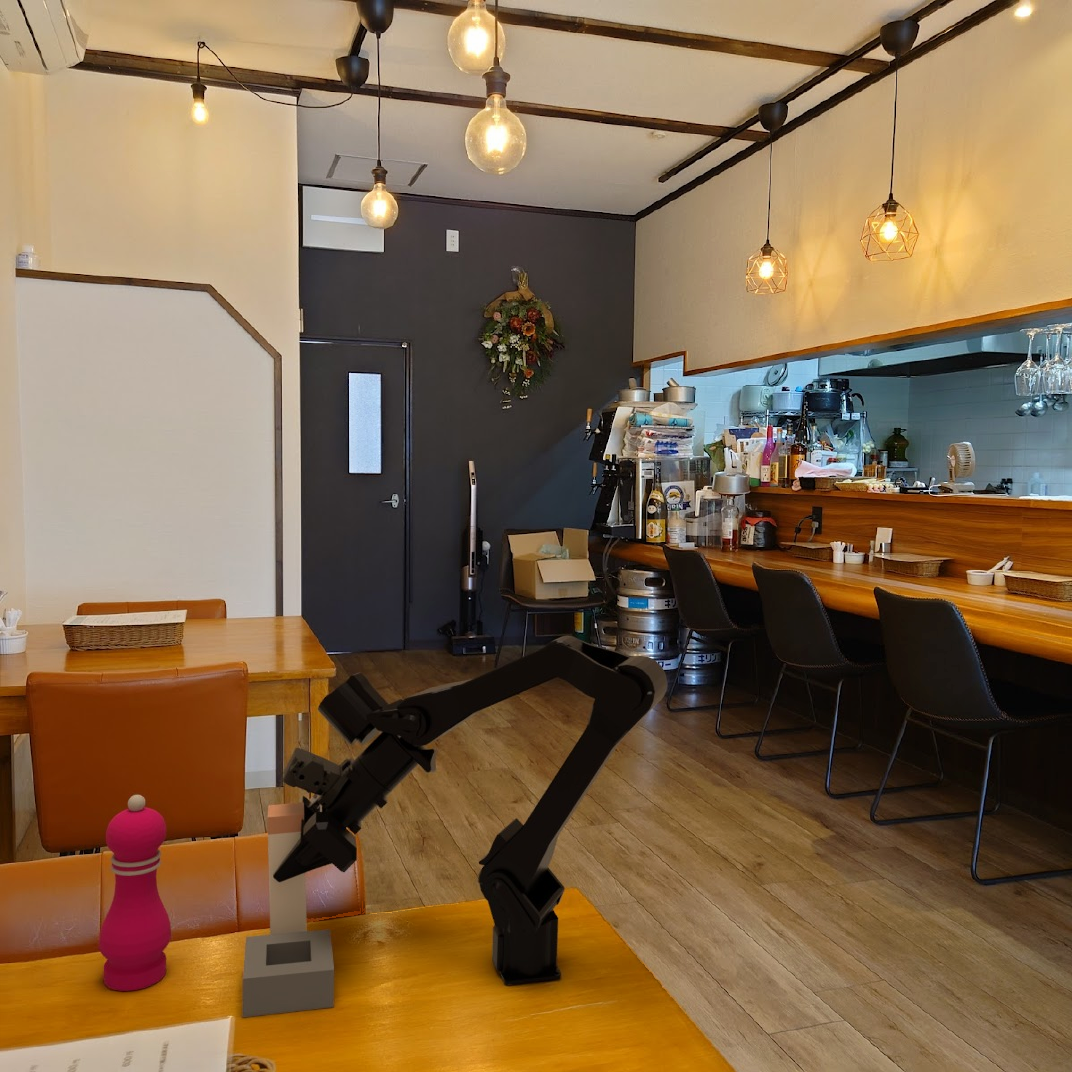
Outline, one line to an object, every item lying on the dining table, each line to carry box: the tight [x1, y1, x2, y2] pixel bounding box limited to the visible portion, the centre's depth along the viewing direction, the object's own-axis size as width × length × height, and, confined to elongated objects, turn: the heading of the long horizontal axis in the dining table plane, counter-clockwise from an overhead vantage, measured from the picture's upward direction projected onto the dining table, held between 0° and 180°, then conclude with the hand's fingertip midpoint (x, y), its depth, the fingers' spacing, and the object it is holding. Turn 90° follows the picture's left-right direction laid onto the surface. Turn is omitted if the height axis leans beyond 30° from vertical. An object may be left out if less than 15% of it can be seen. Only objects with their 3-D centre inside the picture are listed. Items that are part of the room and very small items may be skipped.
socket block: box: [241, 928, 335, 1018], centre depth 101 cm, size 9×9×4 cm
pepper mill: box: [98, 794, 172, 992], centre depth 102 cm, size 7×7×20 cm
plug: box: [267, 801, 307, 935], centre depth 110 cm, size 4×4×15 cm
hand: (276, 871), depth 110 cm, fingers closed on plug, 4 cm apart
